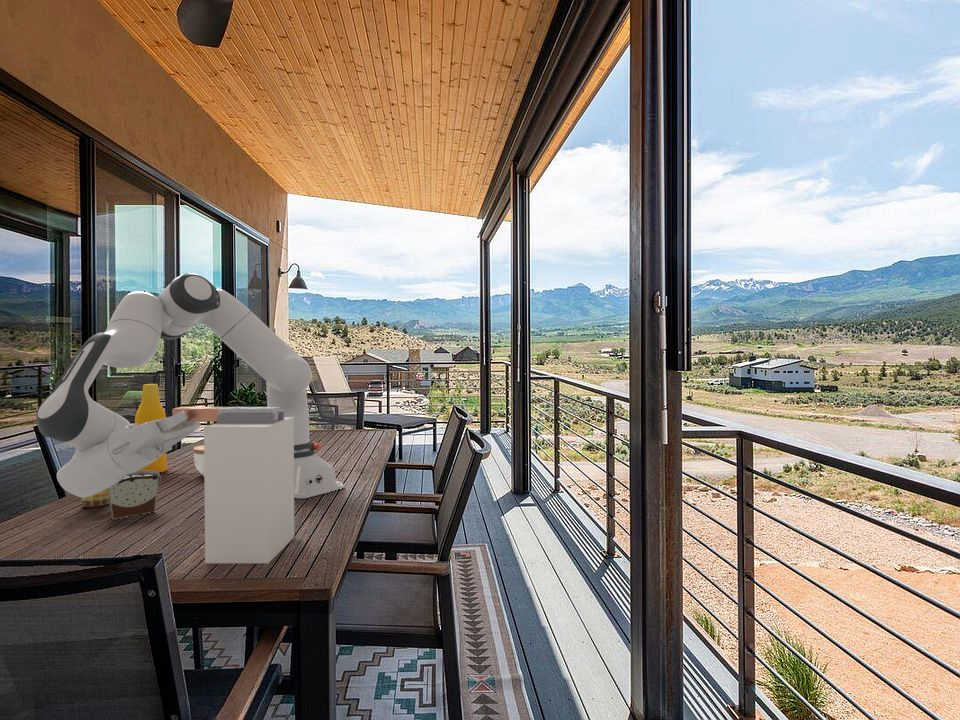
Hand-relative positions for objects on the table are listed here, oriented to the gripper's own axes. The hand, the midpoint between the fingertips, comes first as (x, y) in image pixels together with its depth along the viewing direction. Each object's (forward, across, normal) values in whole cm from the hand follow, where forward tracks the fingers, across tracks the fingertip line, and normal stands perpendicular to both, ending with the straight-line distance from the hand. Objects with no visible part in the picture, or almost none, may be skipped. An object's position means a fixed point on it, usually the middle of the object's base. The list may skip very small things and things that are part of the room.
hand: (196, 411), depth 122 cm
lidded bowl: (-38, +73, +10) cm, 83 cm away
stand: (-4, 0, +30) cm, 30 cm away
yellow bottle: (-59, +78, -1) cm, 97 cm away
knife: (+5, 0, +5) cm, 6 cm away
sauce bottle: (-51, +35, +3) cm, 62 cm away
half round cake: (-39, +27, +10) cm, 49 cm away
